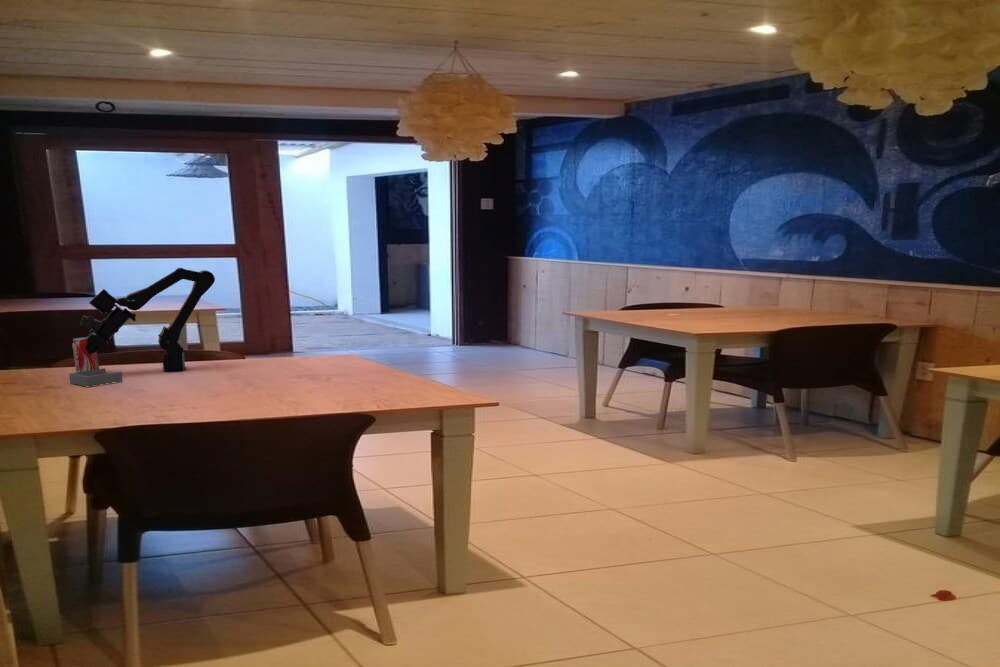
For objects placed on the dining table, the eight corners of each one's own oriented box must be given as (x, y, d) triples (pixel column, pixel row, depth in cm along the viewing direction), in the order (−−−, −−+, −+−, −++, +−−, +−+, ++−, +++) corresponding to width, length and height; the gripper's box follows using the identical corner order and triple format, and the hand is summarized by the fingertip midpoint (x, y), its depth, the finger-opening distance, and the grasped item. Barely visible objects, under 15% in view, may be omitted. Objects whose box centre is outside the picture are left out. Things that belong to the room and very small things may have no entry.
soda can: (97, 372, 272) (92, 335, 270) (101, 374, 266) (96, 337, 264) (75, 375, 268) (69, 338, 266) (78, 378, 262) (73, 340, 260)
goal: (105, 377, 265) (104, 368, 265) (122, 381, 258) (121, 371, 258) (70, 383, 256) (69, 373, 256) (87, 387, 249) (86, 377, 249)
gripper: (94, 304, 274) (61, 337, 270) (93, 309, 257) (58, 344, 254) (120, 325, 278) (89, 358, 275) (121, 331, 262) (87, 366, 258)
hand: (80, 356), depth 265 cm, fingers closed on soda can, 4 cm apart
